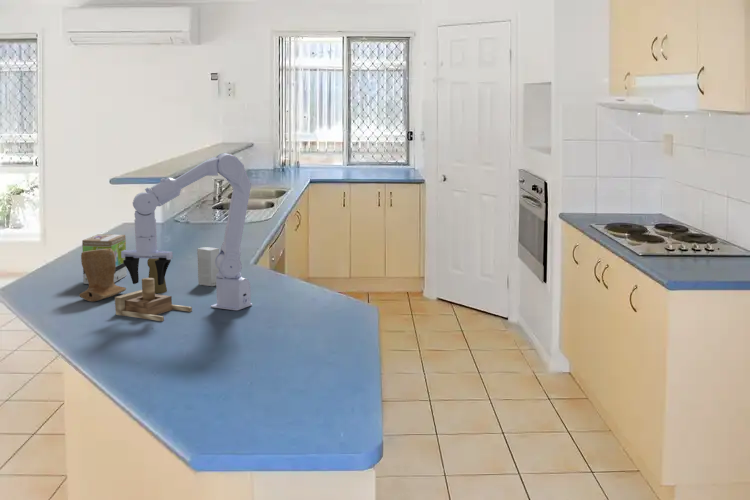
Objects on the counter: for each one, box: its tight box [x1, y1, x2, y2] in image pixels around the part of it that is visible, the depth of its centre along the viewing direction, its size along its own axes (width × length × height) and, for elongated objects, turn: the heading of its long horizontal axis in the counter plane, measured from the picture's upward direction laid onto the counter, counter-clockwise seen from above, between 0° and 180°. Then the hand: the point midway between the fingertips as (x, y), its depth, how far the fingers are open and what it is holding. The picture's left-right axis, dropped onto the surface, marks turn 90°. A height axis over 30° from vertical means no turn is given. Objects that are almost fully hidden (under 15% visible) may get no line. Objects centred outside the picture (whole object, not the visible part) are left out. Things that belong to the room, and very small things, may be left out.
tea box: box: [81, 233, 128, 285], centre depth 277 cm, size 15×10×15 cm, turn 179°
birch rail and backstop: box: [114, 289, 193, 322], centre depth 233 cm, size 16×13×5 cm
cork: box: [147, 258, 168, 295], centre depth 260 cm, size 6×6×11 cm
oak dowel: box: [141, 277, 155, 301], centre depth 233 cm, size 3×3×7 cm
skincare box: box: [196, 246, 220, 287], centre depth 270 cm, size 6×4×12 cm
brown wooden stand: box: [78, 248, 127, 303], centre depth 251 cm, size 15×12×15 cm
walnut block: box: [125, 294, 173, 316], centre depth 234 cm, size 8×10×4 cm
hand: (148, 283), depth 233 cm, fingers open, 7 cm apart
